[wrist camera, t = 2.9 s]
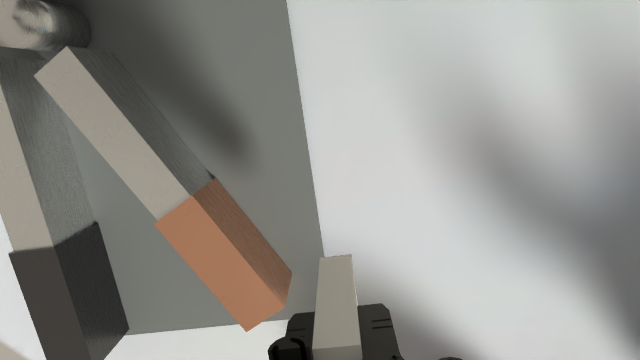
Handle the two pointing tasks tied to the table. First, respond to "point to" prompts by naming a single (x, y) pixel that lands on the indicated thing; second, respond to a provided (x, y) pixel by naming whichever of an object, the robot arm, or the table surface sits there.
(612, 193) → the table surface
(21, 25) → the tongs arm
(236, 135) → the mat
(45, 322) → the tongs fixed
